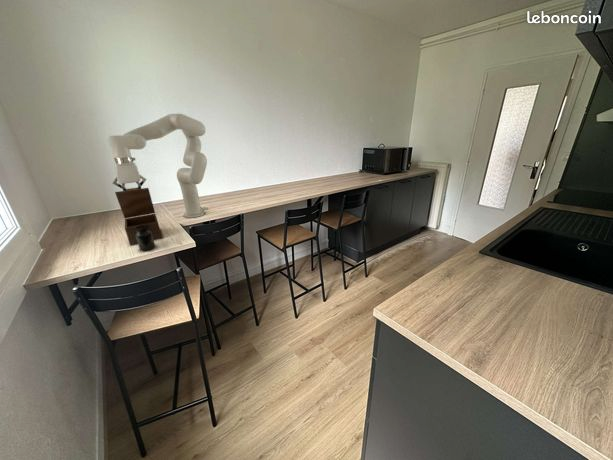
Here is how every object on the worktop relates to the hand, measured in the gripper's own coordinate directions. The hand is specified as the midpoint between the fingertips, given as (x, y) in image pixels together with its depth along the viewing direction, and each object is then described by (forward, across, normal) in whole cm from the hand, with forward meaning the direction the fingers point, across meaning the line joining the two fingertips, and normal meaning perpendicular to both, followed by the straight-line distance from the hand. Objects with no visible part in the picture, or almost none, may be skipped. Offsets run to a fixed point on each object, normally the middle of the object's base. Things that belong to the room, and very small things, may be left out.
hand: (133, 194), depth 137 cm
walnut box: (+23, 0, +8) cm, 24 cm away
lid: (+4, 0, +3) cm, 5 cm away
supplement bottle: (+23, 0, +25) cm, 34 cm away
